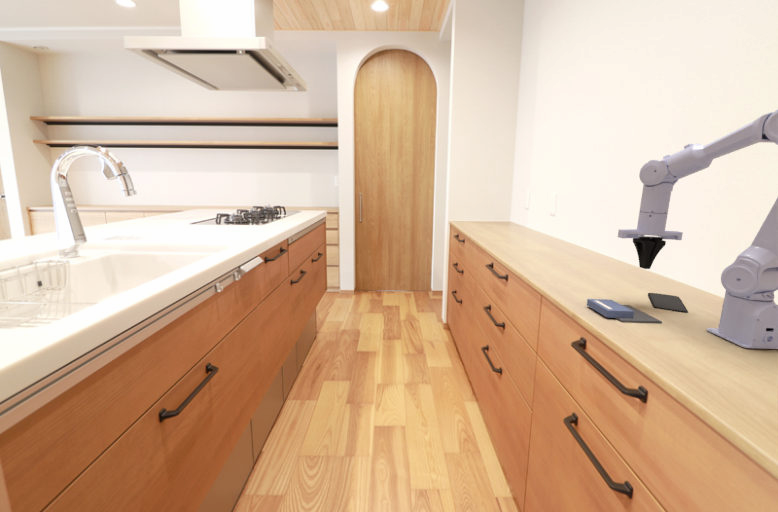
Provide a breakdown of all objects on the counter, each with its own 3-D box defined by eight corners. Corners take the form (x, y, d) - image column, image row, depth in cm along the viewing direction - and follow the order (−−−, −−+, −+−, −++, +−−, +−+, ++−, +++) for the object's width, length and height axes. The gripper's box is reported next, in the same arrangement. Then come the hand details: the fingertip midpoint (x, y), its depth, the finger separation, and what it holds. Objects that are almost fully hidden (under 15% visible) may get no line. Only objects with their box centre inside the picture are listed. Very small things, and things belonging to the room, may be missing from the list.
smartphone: (653, 306, 100) (647, 292, 113) (652, 310, 100) (646, 295, 113) (689, 312, 96) (679, 296, 109) (689, 315, 97) (678, 299, 110)
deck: (634, 311, 90) (607, 310, 90) (633, 318, 90) (606, 317, 90) (611, 299, 99) (587, 298, 99) (610, 305, 99) (586, 305, 99)
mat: (661, 323, 89) (662, 321, 89) (621, 322, 88) (621, 320, 88) (628, 306, 100) (629, 304, 100) (593, 305, 100) (593, 303, 100)
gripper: (671, 212, 100) (662, 265, 103) (614, 210, 100) (606, 263, 102) (692, 214, 93) (682, 271, 96) (631, 212, 93) (623, 269, 96)
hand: (644, 268), depth 99 cm, fingers closed
